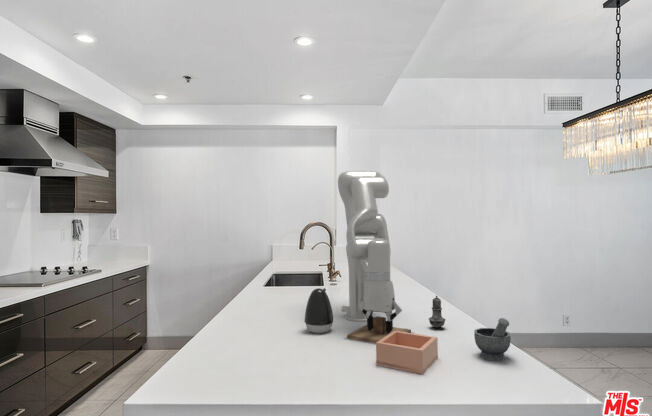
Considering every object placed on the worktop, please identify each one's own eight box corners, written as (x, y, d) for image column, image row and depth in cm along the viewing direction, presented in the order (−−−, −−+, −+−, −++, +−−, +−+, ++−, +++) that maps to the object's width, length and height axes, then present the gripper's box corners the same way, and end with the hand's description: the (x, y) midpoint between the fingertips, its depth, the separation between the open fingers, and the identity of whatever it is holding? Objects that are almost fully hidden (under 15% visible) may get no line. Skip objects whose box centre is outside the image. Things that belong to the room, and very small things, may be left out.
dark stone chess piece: (446, 332, 138) (445, 297, 138) (429, 331, 139) (428, 296, 139) (445, 327, 143) (444, 293, 144) (428, 326, 144) (427, 293, 145)
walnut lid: (347, 338, 131) (347, 320, 131) (368, 326, 144) (368, 310, 144) (393, 346, 122) (392, 326, 122) (411, 333, 136) (410, 315, 136)
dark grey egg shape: (338, 329, 143) (337, 286, 143) (326, 337, 133) (325, 291, 133) (312, 326, 147) (312, 285, 147) (299, 334, 137) (298, 289, 138)
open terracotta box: (376, 364, 108) (376, 342, 108) (394, 350, 119) (394, 330, 119) (423, 374, 101) (422, 350, 101) (437, 358, 112) (437, 337, 112)
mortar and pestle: (467, 352, 117) (466, 311, 117) (494, 349, 119) (494, 309, 119) (493, 366, 106) (492, 321, 106) (522, 362, 108) (521, 318, 108)
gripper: (351, 276, 135) (351, 330, 134) (399, 280, 126) (400, 337, 125) (361, 273, 141) (361, 324, 141) (407, 277, 132) (408, 331, 132)
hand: (379, 330), depth 133 cm, fingers open, 5 cm apart
